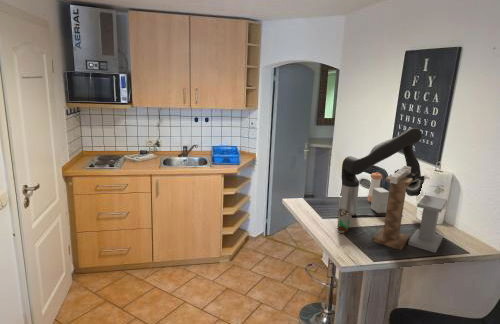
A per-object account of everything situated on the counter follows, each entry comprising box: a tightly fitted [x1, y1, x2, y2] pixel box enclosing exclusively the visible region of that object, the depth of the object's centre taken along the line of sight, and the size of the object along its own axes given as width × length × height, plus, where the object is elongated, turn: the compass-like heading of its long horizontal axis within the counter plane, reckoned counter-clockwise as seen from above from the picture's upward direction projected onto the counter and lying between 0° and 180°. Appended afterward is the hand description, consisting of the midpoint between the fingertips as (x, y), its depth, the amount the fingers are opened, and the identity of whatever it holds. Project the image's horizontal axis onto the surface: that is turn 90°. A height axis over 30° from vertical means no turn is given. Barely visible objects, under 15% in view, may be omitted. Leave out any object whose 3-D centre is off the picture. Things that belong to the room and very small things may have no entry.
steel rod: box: [389, 165, 411, 184], centre depth 164 cm, size 3×24×3 cm, turn 142°
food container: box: [337, 207, 353, 235], centre depth 179 cm, size 12×6×10 cm, turn 168°
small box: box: [370, 187, 389, 214], centre depth 206 cm, size 8×6×13 cm
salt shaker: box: [367, 171, 383, 203], centre depth 221 cm, size 7×7×19 cm
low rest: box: [407, 194, 448, 254], centre depth 168 cm, size 12×18×21 cm, turn 142°
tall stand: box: [371, 174, 413, 251], centre depth 167 cm, size 14×14×32 cm
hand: (407, 172), depth 174 cm, fingers open, 8 cm apart
